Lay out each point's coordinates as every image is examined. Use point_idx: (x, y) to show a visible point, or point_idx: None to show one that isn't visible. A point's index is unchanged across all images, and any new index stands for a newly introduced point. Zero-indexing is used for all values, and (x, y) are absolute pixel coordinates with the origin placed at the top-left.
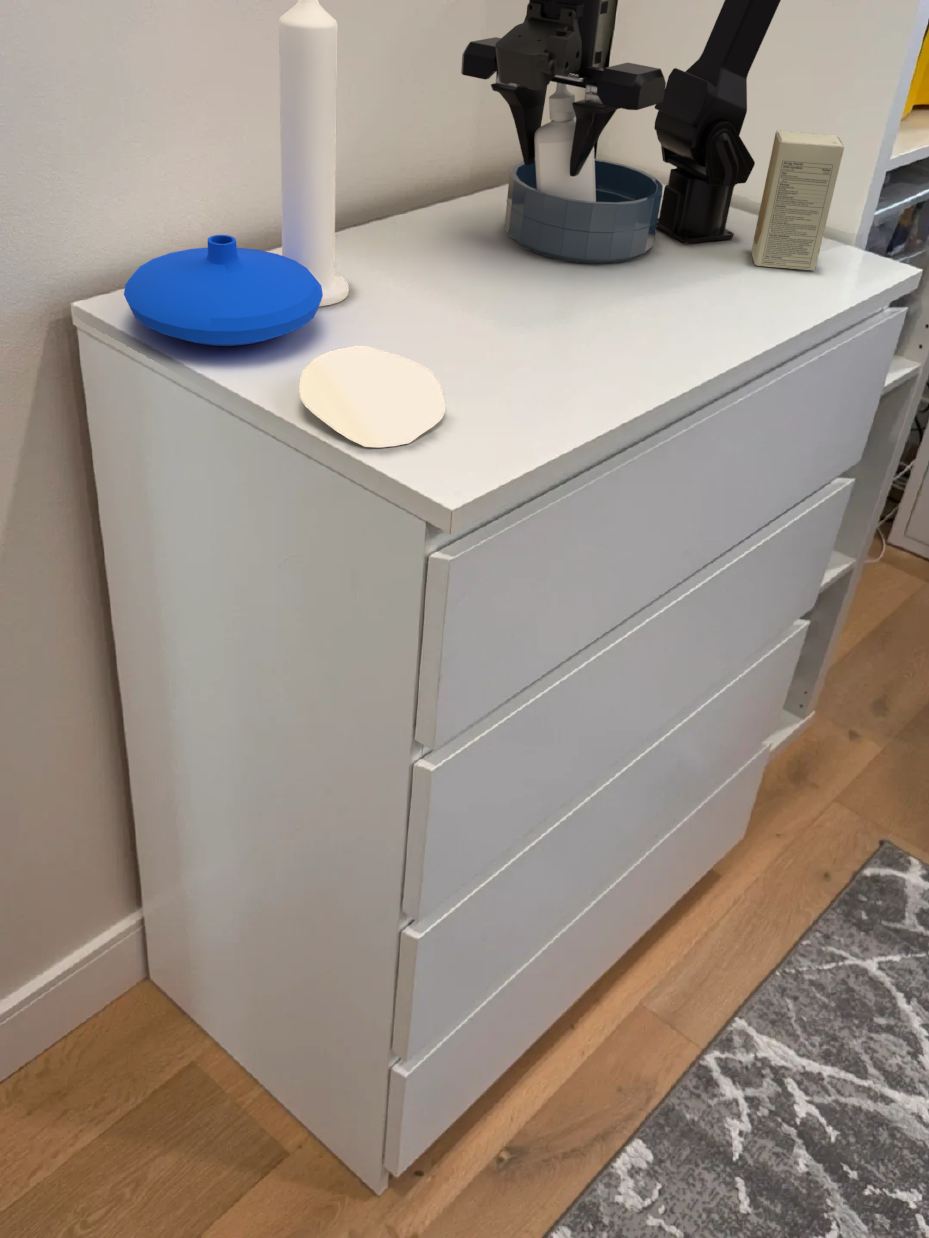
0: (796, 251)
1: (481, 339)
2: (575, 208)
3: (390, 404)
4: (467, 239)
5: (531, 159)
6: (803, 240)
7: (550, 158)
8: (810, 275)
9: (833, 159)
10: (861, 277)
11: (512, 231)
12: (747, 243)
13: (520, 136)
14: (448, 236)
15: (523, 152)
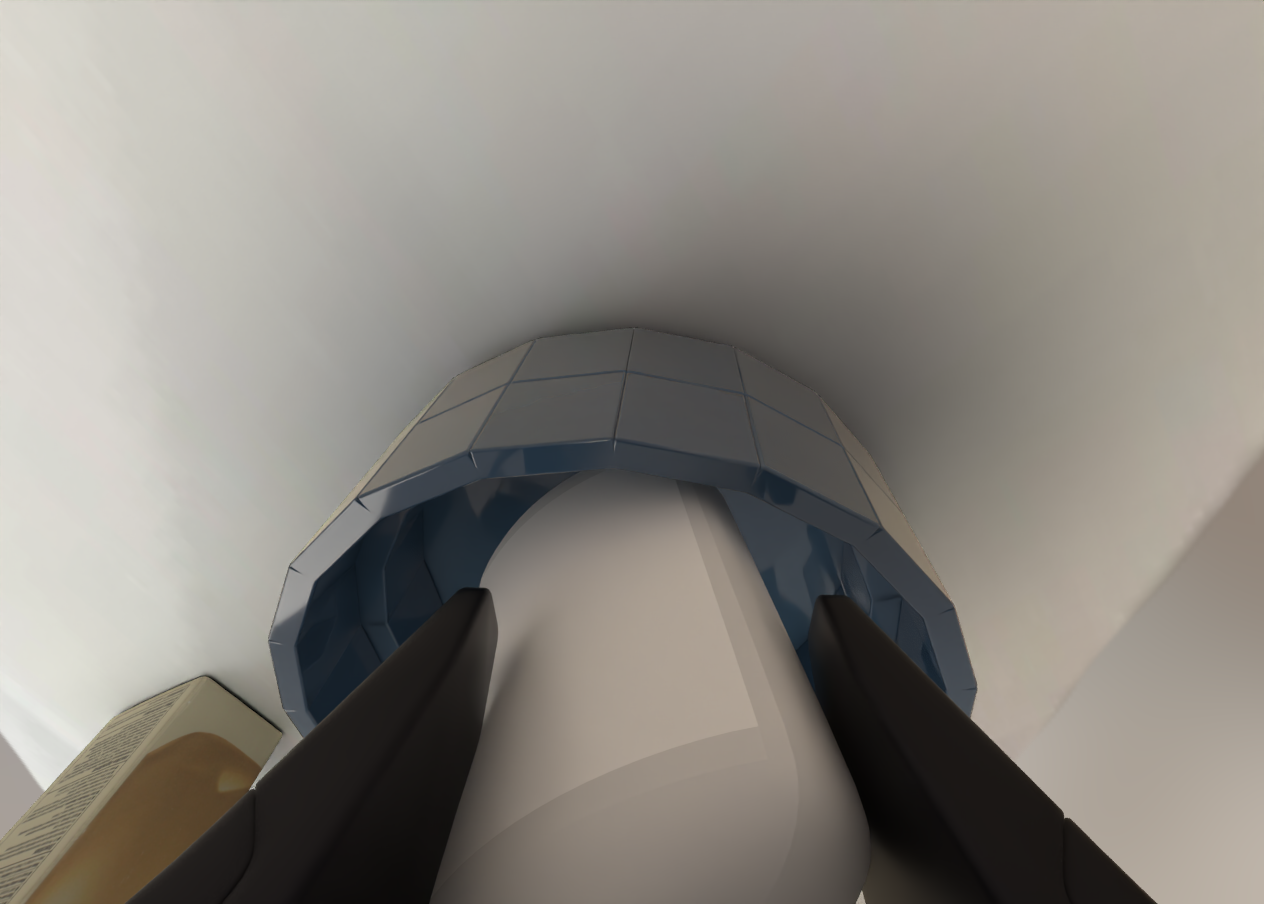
0: (107, 742)
1: None
2: (439, 447)
3: None
4: (967, 279)
5: (819, 648)
6: (75, 774)
7: (643, 652)
8: (107, 698)
9: None
10: (59, 743)
11: (796, 388)
12: None
13: (973, 753)
14: (1062, 246)
15: (882, 648)
